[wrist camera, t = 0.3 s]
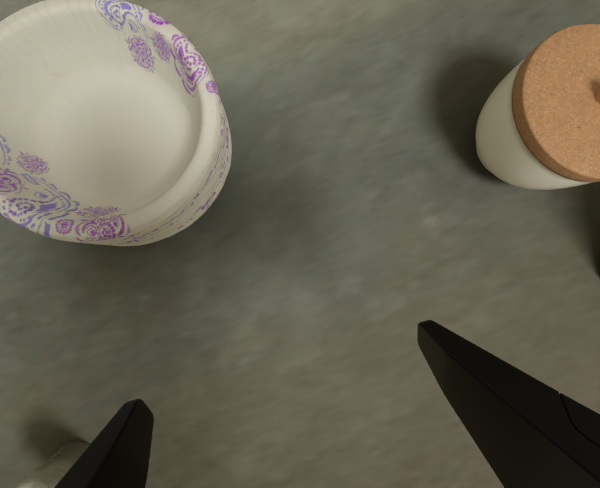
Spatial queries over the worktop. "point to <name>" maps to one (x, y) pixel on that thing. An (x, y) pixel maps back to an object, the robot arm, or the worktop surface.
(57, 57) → the paper bowls
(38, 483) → the posts
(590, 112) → the lidded jar
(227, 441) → the worktop surface
